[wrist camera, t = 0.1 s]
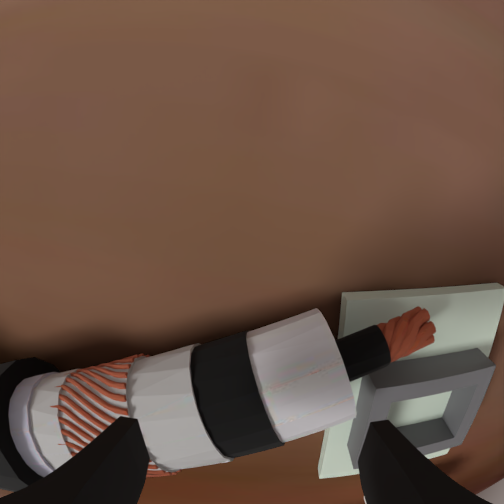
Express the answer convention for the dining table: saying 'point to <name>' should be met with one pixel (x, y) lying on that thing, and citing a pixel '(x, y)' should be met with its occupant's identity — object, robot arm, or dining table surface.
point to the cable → (198, 395)
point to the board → (419, 371)
